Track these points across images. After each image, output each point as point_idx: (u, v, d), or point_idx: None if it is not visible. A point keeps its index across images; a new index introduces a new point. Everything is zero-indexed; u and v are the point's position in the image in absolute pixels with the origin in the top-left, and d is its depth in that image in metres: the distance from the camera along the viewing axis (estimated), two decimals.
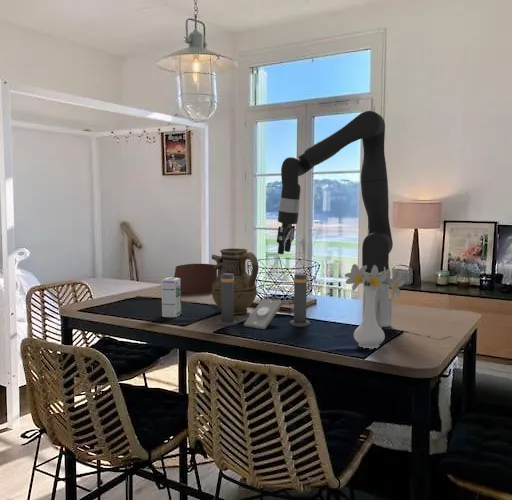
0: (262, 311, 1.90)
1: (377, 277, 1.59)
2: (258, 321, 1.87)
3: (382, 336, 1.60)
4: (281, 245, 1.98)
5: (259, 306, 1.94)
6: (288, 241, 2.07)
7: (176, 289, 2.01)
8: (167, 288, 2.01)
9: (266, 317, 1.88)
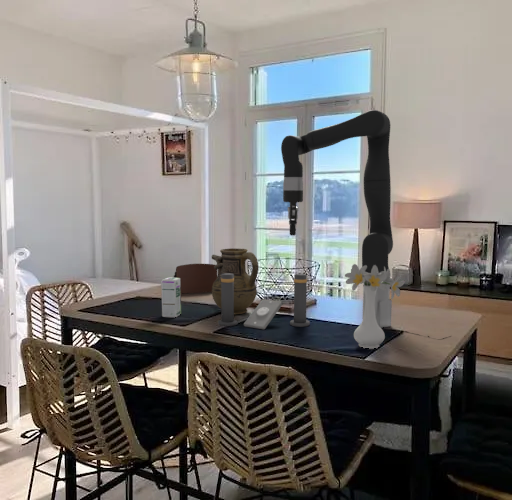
0: (262, 311, 1.90)
1: (377, 277, 1.59)
2: (258, 321, 1.87)
3: (382, 336, 1.60)
4: (293, 226, 2.01)
5: (259, 306, 1.94)
6: None
7: (176, 289, 2.01)
8: (167, 288, 2.01)
9: (265, 317, 1.88)
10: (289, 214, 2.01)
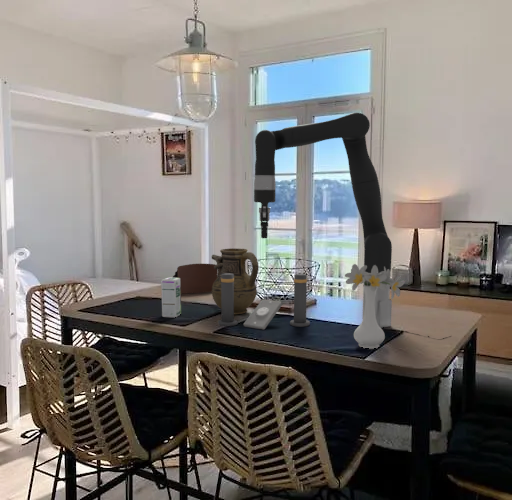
0: (261, 311, 1.90)
1: (377, 277, 1.59)
2: (257, 321, 1.87)
3: (382, 336, 1.60)
4: (265, 228, 1.87)
5: (259, 306, 1.94)
6: None
7: (176, 289, 2.01)
8: (167, 288, 2.01)
9: (265, 317, 1.87)
10: (260, 216, 1.86)
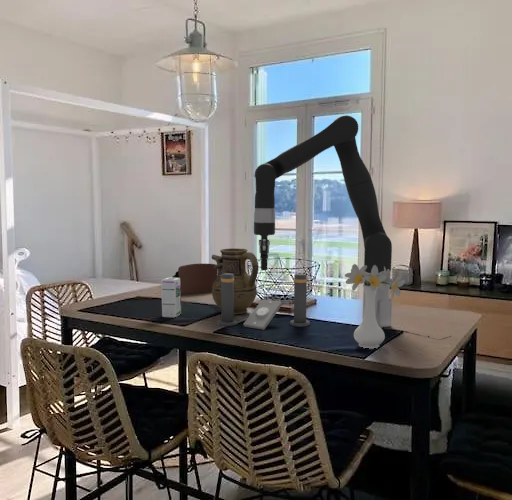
0: (261, 311, 1.90)
1: (377, 277, 1.59)
2: (257, 321, 1.87)
3: (382, 336, 1.60)
4: (264, 261, 1.88)
5: (259, 306, 1.94)
6: None
7: (176, 289, 2.01)
8: (167, 288, 2.01)
9: (265, 317, 1.87)
10: (260, 248, 1.87)
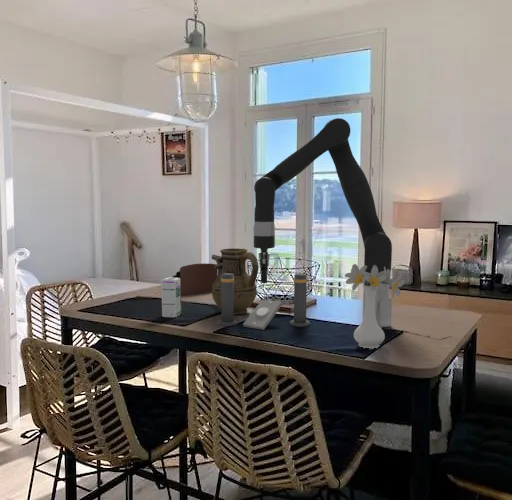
0: (261, 311, 1.89)
1: (377, 277, 1.59)
2: (257, 321, 1.86)
3: (382, 336, 1.60)
4: (264, 274, 1.88)
5: (259, 306, 1.94)
6: None
7: (176, 289, 2.01)
8: (167, 288, 2.01)
9: (265, 317, 1.87)
10: (260, 261, 1.87)
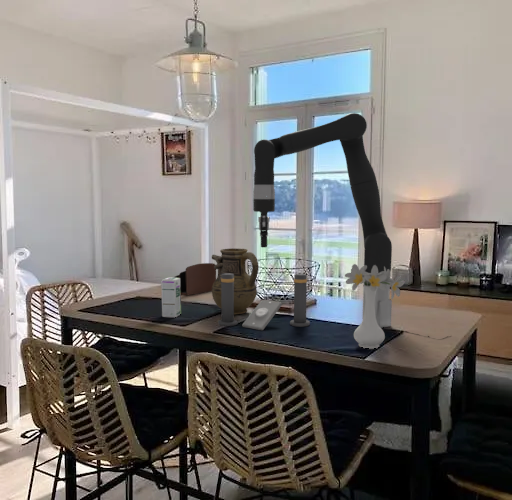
0: (260, 311, 1.89)
1: (377, 277, 1.59)
2: (256, 322, 1.86)
3: (382, 336, 1.60)
4: (264, 238, 1.87)
5: (258, 307, 1.93)
6: None
7: (176, 289, 2.01)
8: (167, 288, 2.01)
9: (264, 318, 1.86)
10: (260, 225, 1.86)
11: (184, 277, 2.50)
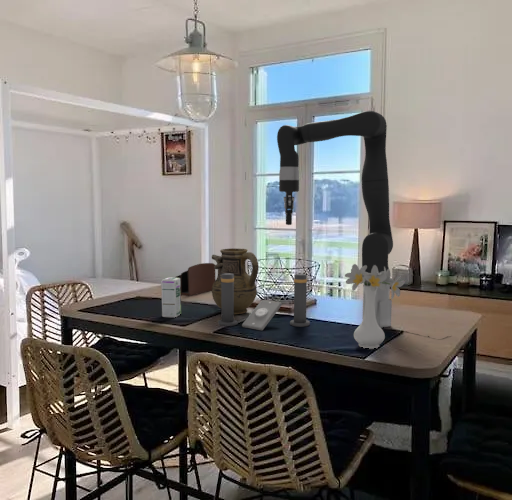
0: (260, 312, 1.89)
1: (377, 277, 1.59)
2: (256, 322, 1.86)
3: (382, 336, 1.60)
4: (289, 216, 2.03)
5: (258, 307, 1.93)
6: None
7: (176, 289, 2.01)
8: (167, 288, 2.01)
9: (264, 318, 1.86)
10: (285, 204, 2.02)
11: (185, 277, 2.50)
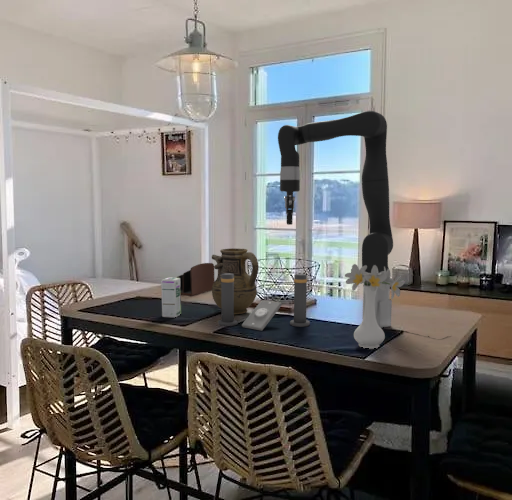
0: (260, 312, 1.88)
1: (377, 277, 1.59)
2: (256, 322, 1.85)
3: (382, 336, 1.60)
4: (290, 215, 2.03)
5: (258, 307, 1.93)
6: None
7: (176, 289, 2.01)
8: (167, 288, 2.01)
9: (264, 318, 1.86)
10: (286, 204, 2.02)
11: (187, 277, 2.49)
